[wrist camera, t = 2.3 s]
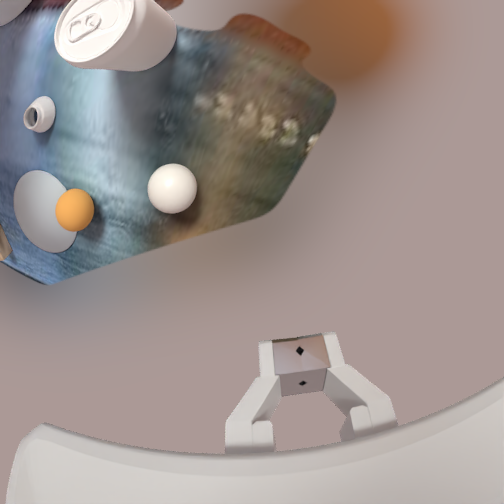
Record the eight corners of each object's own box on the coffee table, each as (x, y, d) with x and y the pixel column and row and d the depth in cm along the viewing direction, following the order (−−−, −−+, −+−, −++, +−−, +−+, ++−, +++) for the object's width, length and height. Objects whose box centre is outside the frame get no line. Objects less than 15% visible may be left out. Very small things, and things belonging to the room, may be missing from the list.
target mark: (4, 184, 28) (4, 184, 28) (59, 158, 28) (58, 158, 28) (34, 256, 36) (34, 257, 36) (90, 246, 35) (90, 247, 35)
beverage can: (182, 60, 23) (145, 44, 13) (116, 80, 24) (54, 84, 13) (174, 1, 19) (136, -38, 9) (108, 24, 19) (48, 6, 9)
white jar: (32, 99, 23) (32, 132, 25) (18, 102, 20) (19, 138, 23) (57, 93, 23) (57, 129, 26) (44, 95, 21) (44, 134, 23)
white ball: (151, 163, 30) (134, 178, 25) (195, 154, 29) (186, 167, 25) (161, 204, 33) (148, 225, 28) (204, 197, 32) (197, 218, 28)
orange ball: (64, 187, 30) (42, 204, 26) (93, 178, 30) (72, 194, 25) (76, 222, 33) (57, 242, 29) (106, 215, 33) (88, 236, 28)
